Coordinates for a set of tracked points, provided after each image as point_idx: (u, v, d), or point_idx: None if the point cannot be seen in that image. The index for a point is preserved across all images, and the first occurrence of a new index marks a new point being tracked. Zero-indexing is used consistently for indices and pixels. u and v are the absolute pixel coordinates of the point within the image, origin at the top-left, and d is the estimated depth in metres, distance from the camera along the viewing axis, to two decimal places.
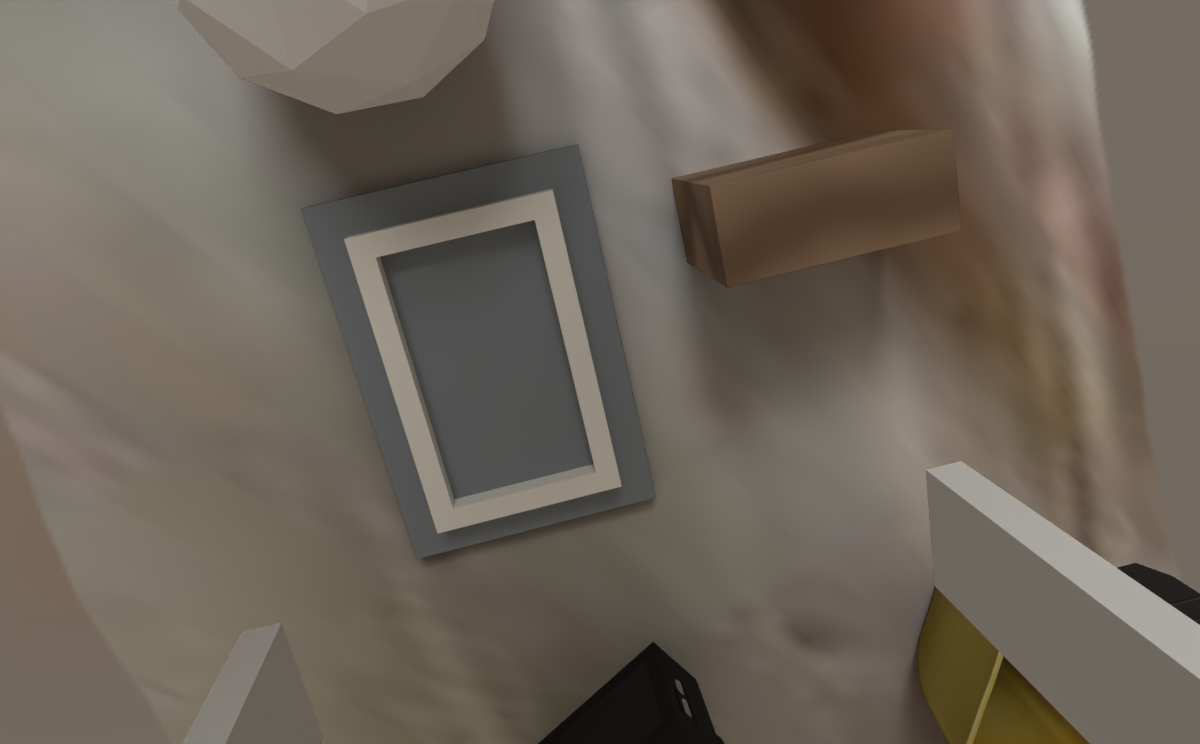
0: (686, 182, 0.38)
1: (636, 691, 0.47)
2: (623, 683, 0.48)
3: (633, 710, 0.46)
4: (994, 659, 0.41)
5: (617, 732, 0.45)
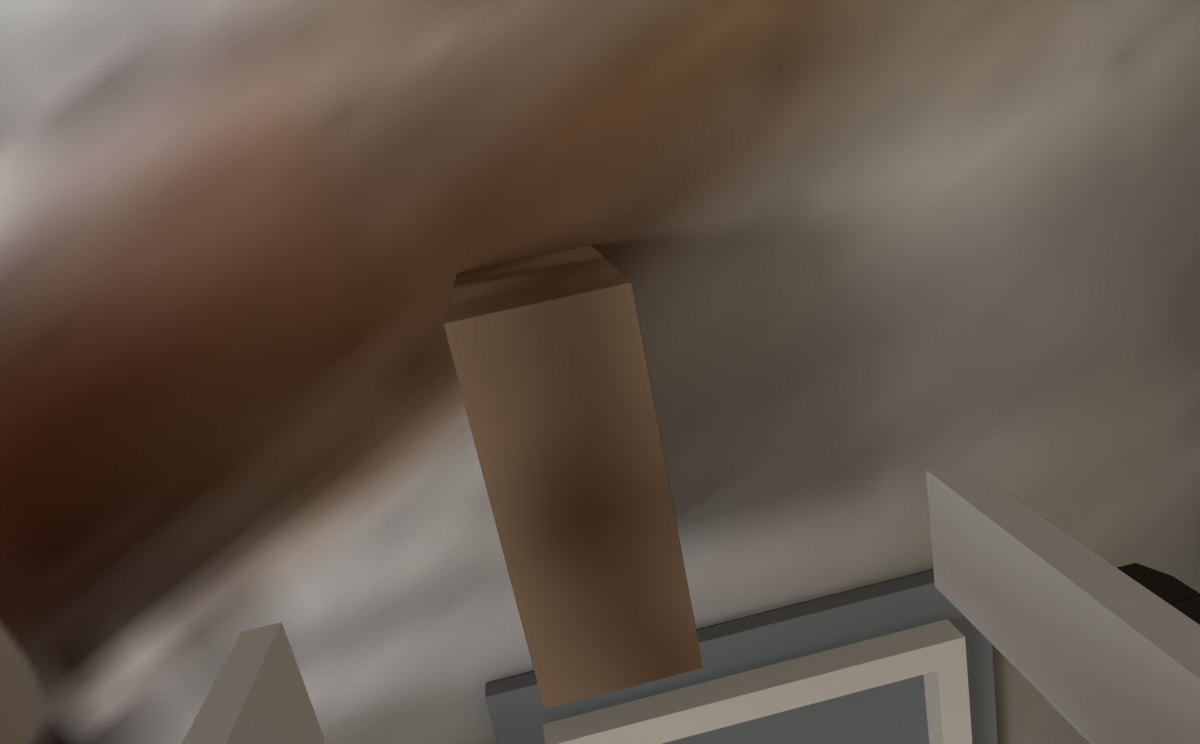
0: None
1: None
2: None
3: None
4: None
5: None
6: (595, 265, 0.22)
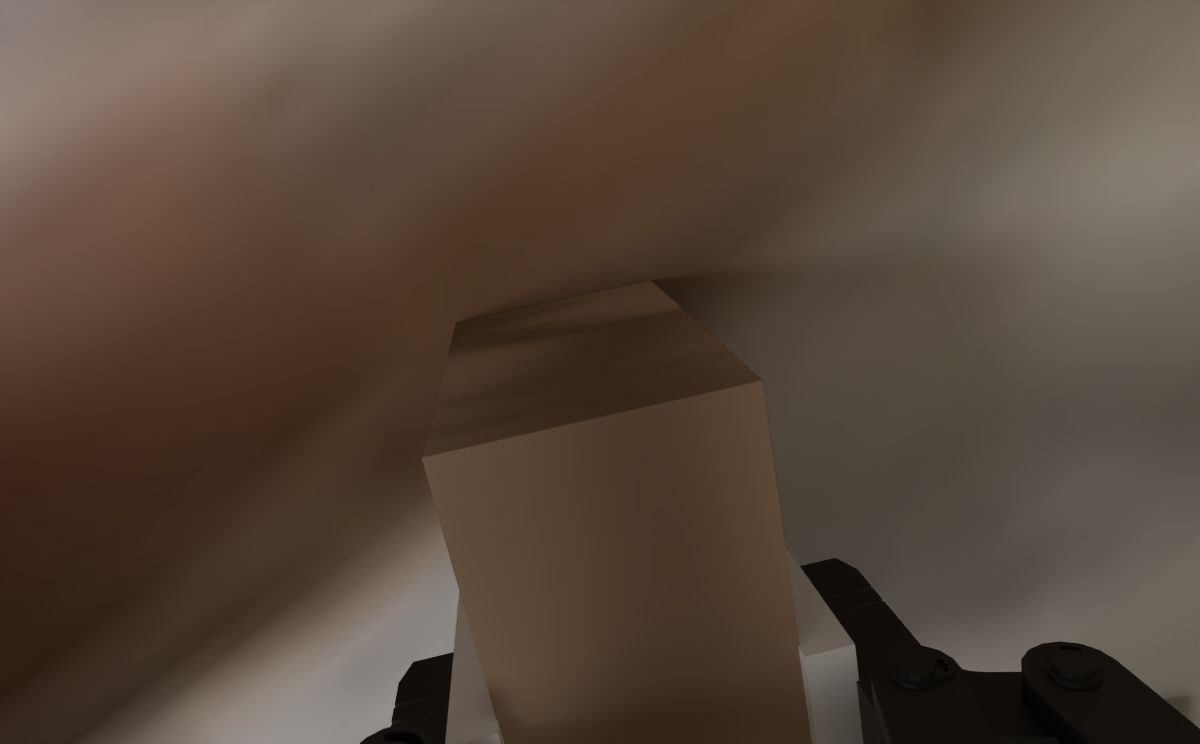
0: None
1: None
2: None
3: None
4: None
5: None
6: (675, 327, 0.14)
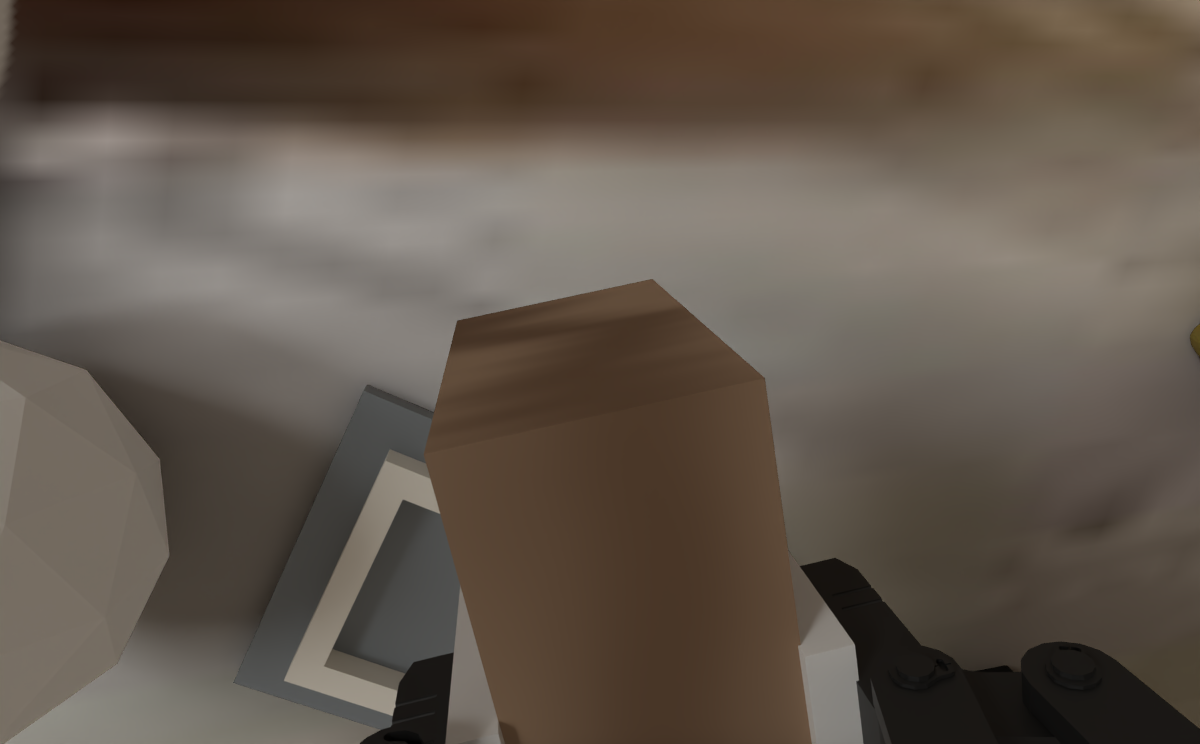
0: None
1: None
2: None
3: None
4: None
5: None
6: (676, 325, 0.14)
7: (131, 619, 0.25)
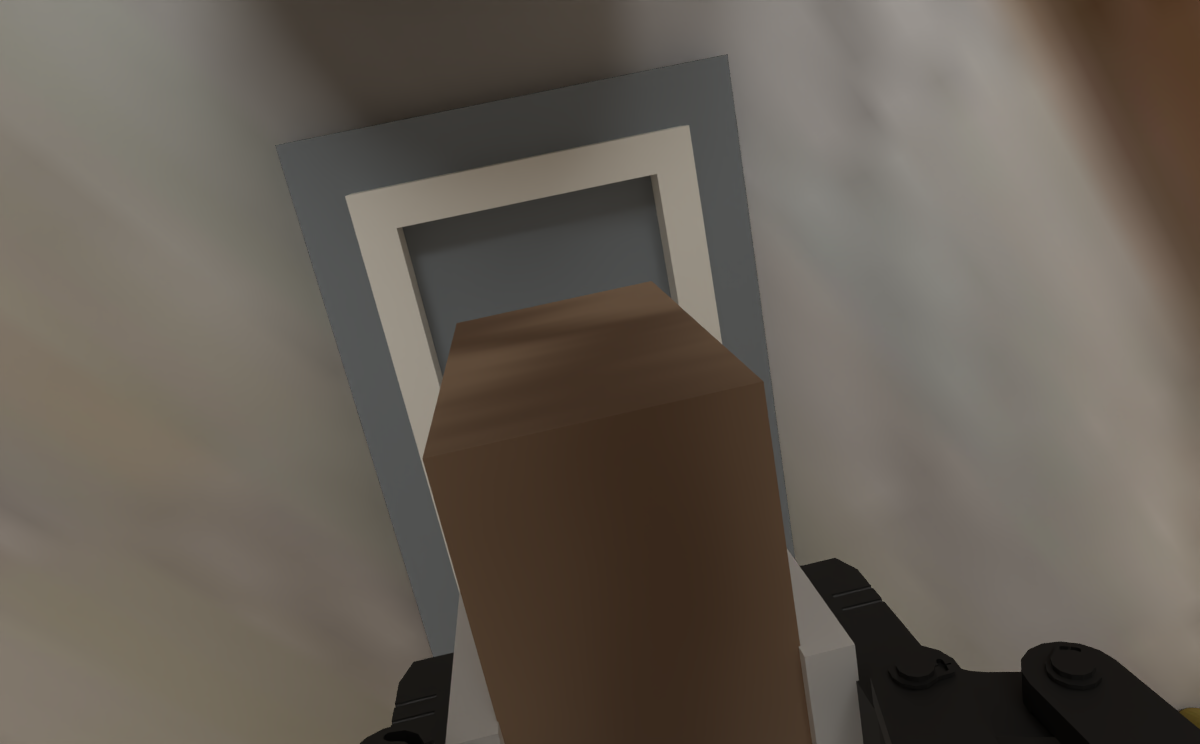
0: None
1: None
2: None
3: None
4: None
5: None
6: (675, 328, 0.14)
7: None
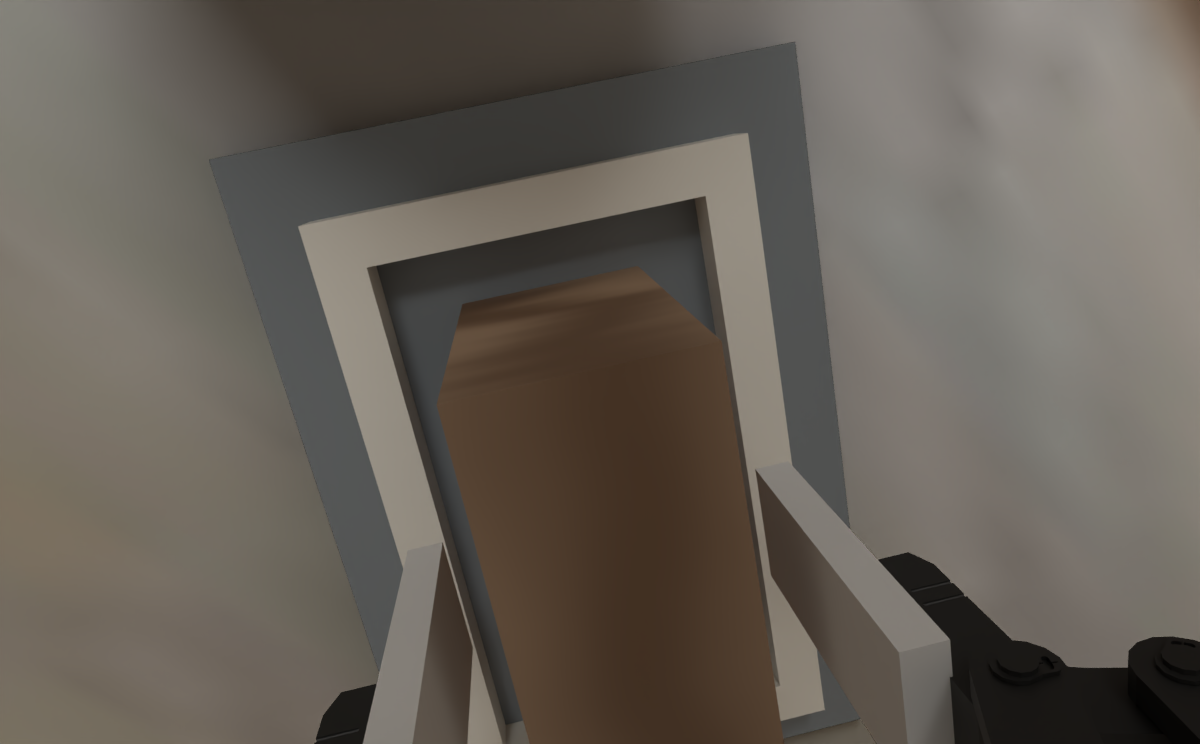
0: None
1: None
2: None
3: None
4: None
5: None
6: (654, 303, 0.16)
7: None
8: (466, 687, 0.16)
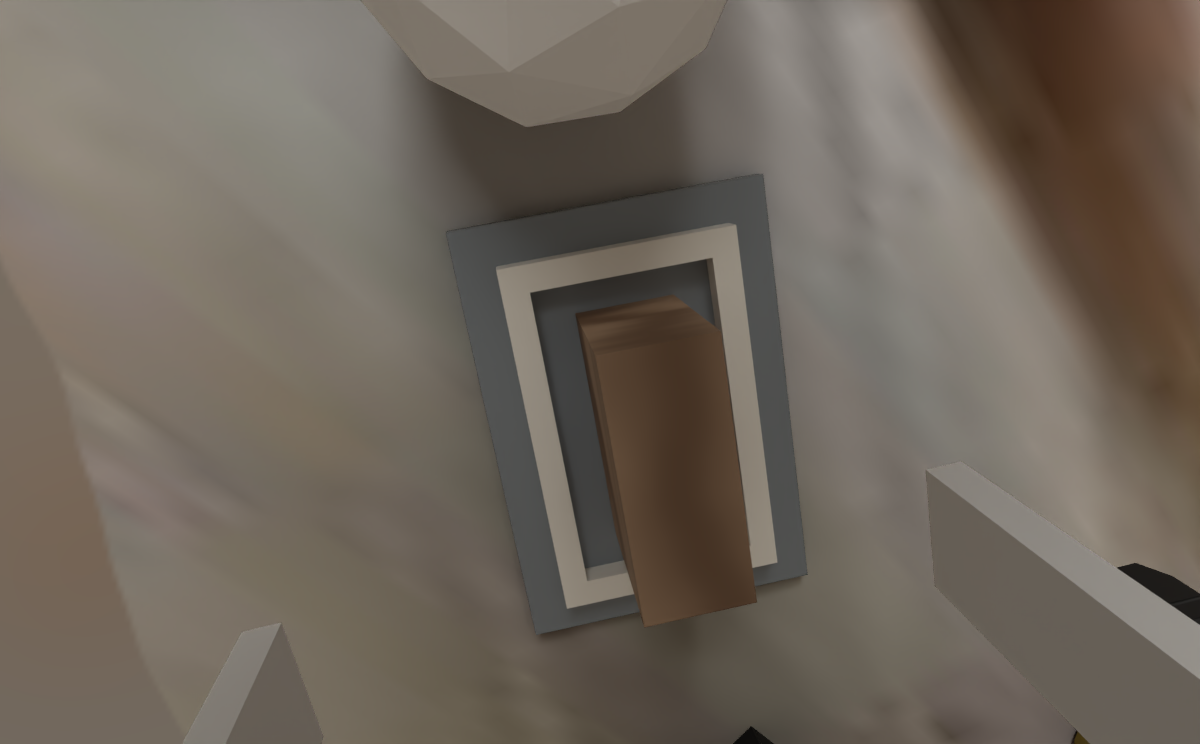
0: (627, 569, 0.35)
1: None
2: None
3: None
4: None
5: None
6: (687, 314, 0.31)
7: (579, 115, 0.27)
8: None
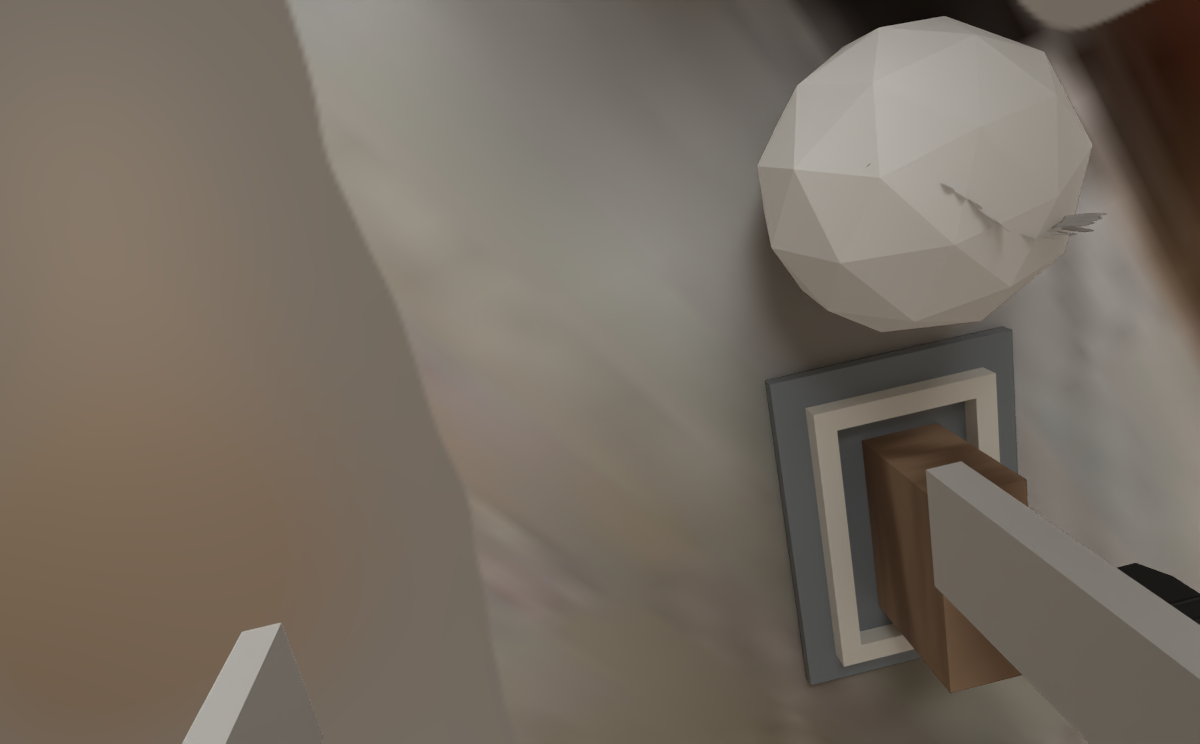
0: (908, 640, 0.44)
1: None
2: None
3: None
4: None
5: None
6: (975, 453, 0.40)
7: None
8: None
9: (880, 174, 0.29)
